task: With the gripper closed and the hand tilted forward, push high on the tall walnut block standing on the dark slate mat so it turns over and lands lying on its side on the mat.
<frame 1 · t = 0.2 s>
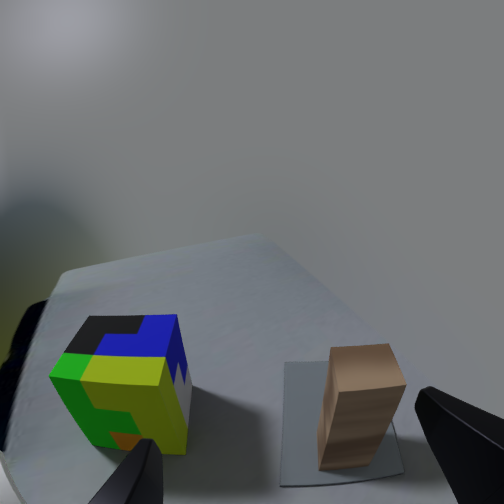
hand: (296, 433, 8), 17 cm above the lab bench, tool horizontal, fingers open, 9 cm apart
slate mat: (336, 414, 25), on the lab bench
walnut block: (341, 449, 21), resting on slate mat
puzzle toy: (144, 417, 26), on the lab bench
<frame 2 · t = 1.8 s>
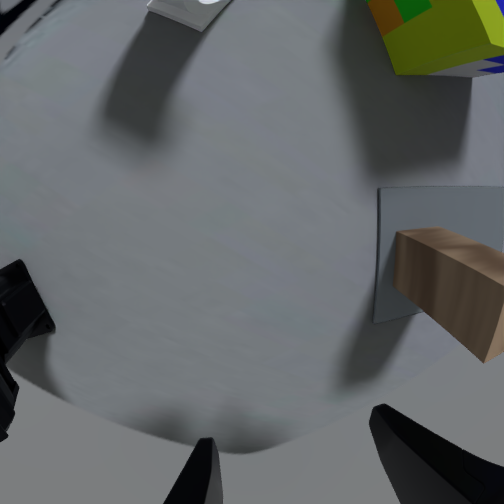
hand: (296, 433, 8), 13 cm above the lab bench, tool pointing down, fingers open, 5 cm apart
slate mat: (453, 247, 21), on the lab bench
walnut block: (416, 255, 21), resting on slate mat
puzzle toy: (418, 24, 15), on the lab bench
headphone stand: (191, 2, 14), on the lab bench
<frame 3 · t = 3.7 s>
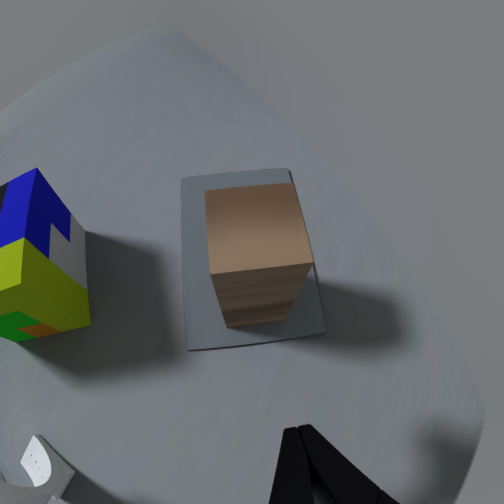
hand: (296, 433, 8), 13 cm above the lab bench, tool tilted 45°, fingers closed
slate mat: (244, 246, 26), on the lab bench
walnut block: (251, 297, 23), resting on slate mat
puzzle toy: (48, 287, 24), on the lab bench
headphone stand: (53, 470, 15), on the lab bench
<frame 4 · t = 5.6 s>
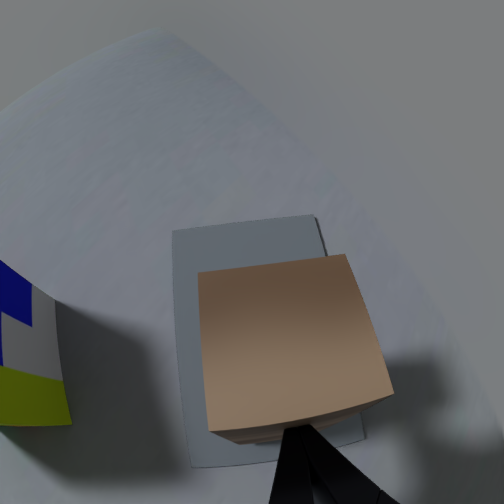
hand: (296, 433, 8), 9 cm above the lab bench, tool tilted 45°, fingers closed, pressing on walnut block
slate mat: (260, 333, 18), on the lab bench
walnut block: (272, 405, 16), point 1 cm above the lab bench, tilted 12°, touching gripper, slate mat
puzzle toy: (20, 367, 16), on the lab bench
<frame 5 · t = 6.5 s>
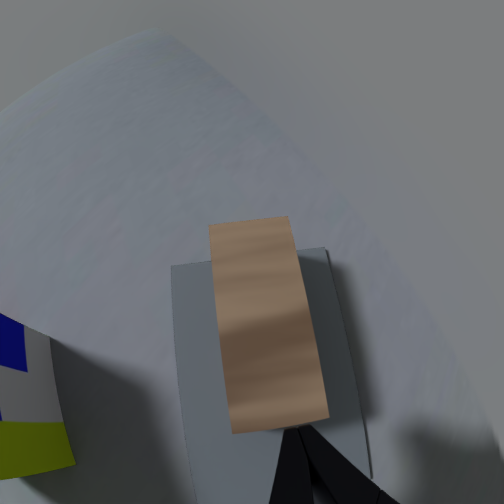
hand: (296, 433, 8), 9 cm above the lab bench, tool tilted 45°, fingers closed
slate mat: (267, 380, 17), on the lab bench
walnut block: (277, 422, 13), point 3 cm above the lab bench, tilted 90°, touching slate mat
puzzle toy: (18, 404, 15), on the lab bench
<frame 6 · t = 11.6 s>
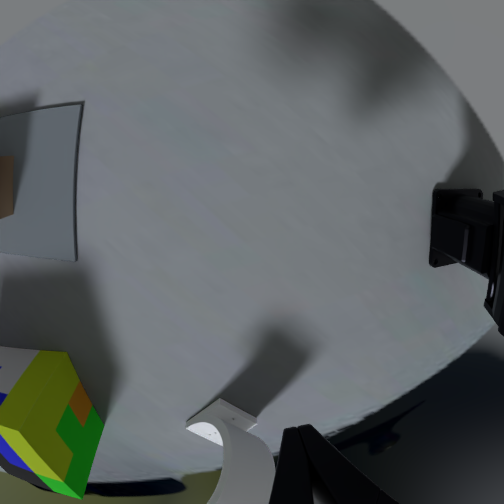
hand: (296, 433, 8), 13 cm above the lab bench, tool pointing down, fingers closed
puzzle toy: (49, 386, 22), on the lab bench
headphone stand: (224, 416, 24), on the lab bench
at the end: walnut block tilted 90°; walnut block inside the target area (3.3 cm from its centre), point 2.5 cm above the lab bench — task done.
